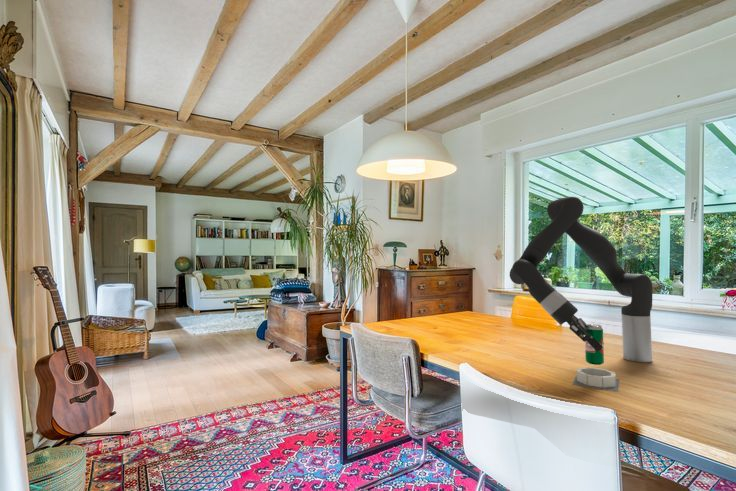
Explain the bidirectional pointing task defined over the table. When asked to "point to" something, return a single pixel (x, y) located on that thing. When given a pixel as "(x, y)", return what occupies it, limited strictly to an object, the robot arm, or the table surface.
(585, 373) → the grey faceted ashtray
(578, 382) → the mat
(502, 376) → the table surface
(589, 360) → the soda can
